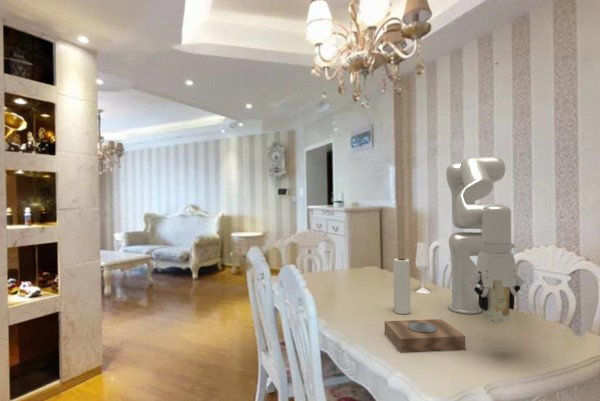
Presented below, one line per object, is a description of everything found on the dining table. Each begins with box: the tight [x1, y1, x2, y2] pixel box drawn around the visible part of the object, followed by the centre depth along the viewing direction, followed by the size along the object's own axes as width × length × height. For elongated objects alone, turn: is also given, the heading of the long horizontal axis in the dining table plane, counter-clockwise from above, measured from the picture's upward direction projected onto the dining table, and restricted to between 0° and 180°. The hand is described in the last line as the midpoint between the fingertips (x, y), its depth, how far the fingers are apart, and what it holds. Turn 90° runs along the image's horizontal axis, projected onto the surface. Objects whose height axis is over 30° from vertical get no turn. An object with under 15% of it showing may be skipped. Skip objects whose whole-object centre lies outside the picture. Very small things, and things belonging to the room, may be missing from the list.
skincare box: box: [482, 281, 510, 324], centre depth 108 cm, size 6×4×12 cm
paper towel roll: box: [392, 257, 411, 315], centre depth 149 cm, size 7×6×21 cm
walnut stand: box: [384, 318, 467, 353], centre depth 119 cm, size 20×16×4 cm
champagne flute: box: [415, 241, 431, 294], centre depth 180 cm, size 7×7×24 cm
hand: (496, 308), depth 108 cm, fingers closed on skincare box, 7 cm apart
